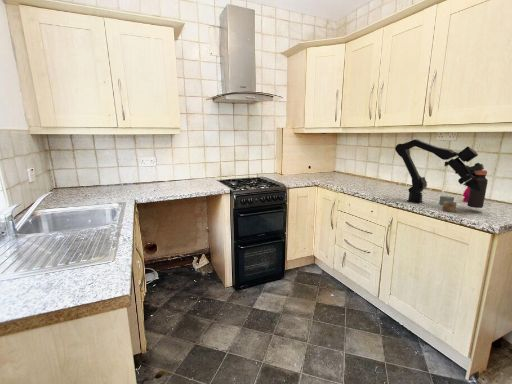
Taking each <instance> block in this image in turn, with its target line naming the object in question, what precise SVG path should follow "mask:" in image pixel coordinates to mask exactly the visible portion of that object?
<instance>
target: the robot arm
mask: <svg viewBox="0 0 512 384" xmlns="http://www.w3.org/2000/svg"><path fill="white" fill-rule="evenodd" d="M414 147H416V148H419V149H422V150H424V151H427V152H430V153H432V154H434V155H435V156H436V157H438V158H439V159H441V160H442V161H445V162H444V167H448V166H449V167H450V168H451V169H452V170H453V171H454V173H455V175H456V174H457V176H459V177H460V178H458V179H457V180H458V183H459V184H460V185H463V186H465V187H470V188H472V189H475V190H477V191H480V188H479V187H478V185H477V184H476V182H475V172H474V171H478V170H485V167H484V164H483V163H480V162H477V163H474V165H473V166H470V165H466V164H465V162H466V163H469V162H470V161H472V160H473V159H475V158H476V157H478V156H479V153H477V151H476V150H475V149H473V148H471V147H470V146H466V147H464V149H462V150H461V151H460V152H457V151H456V152H455V151H454V150H453V149H450V148H443V147H438V146H437V145H432V144H431V143H428V142H424V141H422V140H420V139H417V138H416V139H412V140H410V141H407V142H404V143H398V144H396V146H395V147H394V150H395V152H396V153H397V154H398V156H399V157H400V158H401V159H402V161H403V163H404V165H405V167H406V169H407V171H408V173H409V176H410V178H411V185H412V186H411V187H409V188H408V199H407V200H406V201H407V202H409V203H410V202H411V203H414V204H418V203H423V201H422V200H423V193H422V192H423V191H424V190H425V189H427V187H428V181H427V180H426V178H425V176H421V175H420V173H419V172H418V171H419V170H417V167H416V164H415V163H414V161H413V158H412V156H411V149H413V148H414ZM447 160H448V161H447Z"/></svg>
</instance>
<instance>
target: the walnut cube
mask: <svg viewBox="0 0 512 384" xmlns="http://www.w3.org/2000/svg"><path fill="white" fill-rule="evenodd" d="M456 207H457V202H455V201H454V202H450V201H445V202H444V205H442V212H446V213H447V212H448V213H451V214H452V213H455V211H456Z"/></svg>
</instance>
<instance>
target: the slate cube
mask: <svg viewBox="0 0 512 384" xmlns="http://www.w3.org/2000/svg"><path fill="white" fill-rule="evenodd" d="M454 200H455V196H450V195H440V196H439V202H438V205H442V206H443V205H444V202H445V201H450V202H455V201H454Z"/></svg>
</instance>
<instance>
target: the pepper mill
mask: <svg viewBox="0 0 512 384" xmlns="http://www.w3.org/2000/svg"><path fill="white" fill-rule="evenodd" d="M474 172H475V171H474ZM466 187H467V188H466V189H465V190H464V191H463V195H462V196H463V202H464V203H468V197H469V191H470V187H468V186H466Z"/></svg>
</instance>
